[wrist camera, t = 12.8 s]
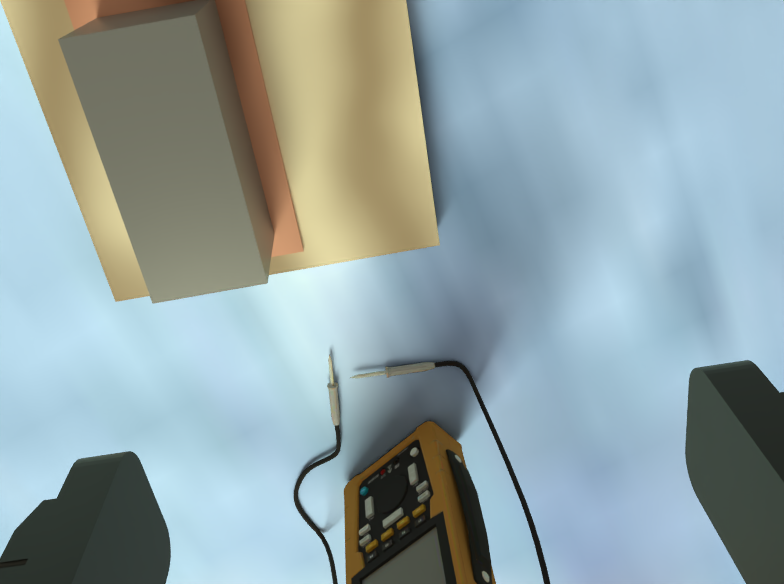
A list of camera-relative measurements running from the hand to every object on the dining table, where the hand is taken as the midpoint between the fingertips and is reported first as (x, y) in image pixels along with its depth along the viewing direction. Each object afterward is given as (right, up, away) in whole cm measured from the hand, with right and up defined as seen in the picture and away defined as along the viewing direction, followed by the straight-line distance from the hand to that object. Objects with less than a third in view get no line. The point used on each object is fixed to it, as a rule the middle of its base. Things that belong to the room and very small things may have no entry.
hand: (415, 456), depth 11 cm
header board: (-7, +10, +23) cm, 26 cm away
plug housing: (-9, +9, +22) cm, 25 cm away
